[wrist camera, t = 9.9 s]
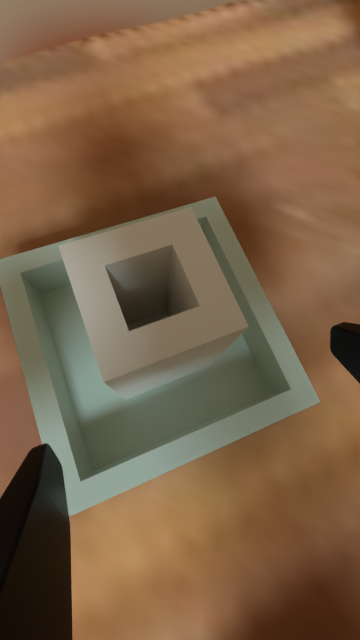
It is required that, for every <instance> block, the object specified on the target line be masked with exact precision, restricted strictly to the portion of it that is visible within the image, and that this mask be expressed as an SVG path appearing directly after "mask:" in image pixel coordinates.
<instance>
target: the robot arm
mask: <svg viewBox="0 0 360 640" xmlns="http://www.w3.org/2000/svg"><path fill="white" fill-rule="evenodd" d="M330 349H331V352H332V354H333V355H334V356H335V357H336V358H337V359H338V360H339V362H340V363H341V364H342V365H343V366H344V367H345V368H346V369H347V370H348V371H349V372H350V373H351V375H352V376H353V377H354V378H355V379H356V380H357V381H358V382H359V383H360V324H353V323H347V322H343V323H340V324H337V325H335V326H333V327H332V328H331V333H330ZM0 640H72V594H71V539H70V522H69V513H68V506H67V498H66V491H65V483H64V476H63V469H62V465H61V463H60V461H59V459H58V458H57V456H56V454H55V453H54V451H53V450H52V448H51V446H50V445H49V444H48V443H44V444H41V445H39V446H36V447H34V448H32V449H31V450H30V451H29V453H28V454H27V456H26V458H25V459H24V461H23V463H22V464H21V466H20V467H19V469H18V471H17V472H16V474H15V475H14V477H13V479H12V480H11V482H10V484H9V485H8V487H7V488H6V490H5V492H4V493H3V495H2V496H1V498H0Z"/></svg>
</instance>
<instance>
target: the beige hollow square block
mask: <svg viewBox="0 0 360 640" xmlns="http://www.w3.org/2000/svg"><path fill="white" fill-rule="evenodd" d="M59 249H60V252H61V256H62V259H63V262H64V265H65V268H66V271H67V274H68V277H69V280H70V283H71V286H72V289H73V292H74V295H75V298H76V301H77V304H78V307H79V310H80V313H81V316H82V319H83V322H84V325H85V328H86V331H87V334H88V337H89V340H90V343H91V346H92V349H93V352H94V355H95V358H96V361H97V364H98V367H99V370H100V373H101V376H102V379H103V382H104V383H105V384H106V385H108V386H109V387H110V388H111V389H113V390H114V391H115V392H116V393H118V394H119V395H120V396H122V397H123V398H124V399H125V400H127V399H129V398H132V397H134V396H137V395H139V394H142V393H144V392H147V391H149V390H152V389H154V388H157V387H159V386H162V385H164V384H167V383H169V382H172V381H174V380H177V379H179V378H182V377H184V376H187V375H189V374H192V373H194V372H197V371H199V370H202V369H204V368H207V367H209V366H210V365H211V364H212V363H213V362H214V361H215V360H216V359H217V358H218V357H219V356H220V355H221V354H222V353H223V352H224V351H225V350H226V349H227V348H228V347H229V346H230V345H231V344H232V343H233V342H234V341H235V340H236V339H237V338H238V337H239V336H240V335H241V334H242V333H243V332H244V331H245V330H246V329H247V328H248V327H249V326H248V324H247V322H246V320H245V318H244V316H243V314H242V312H241V310H240V307H239V305H238V303H237V301H236V299H235V297H234V295H233V293H232V291H231V289H230V287H229V285H228V282H227V280H226V278H225V276H224V274H223V272H222V270H221V268H220V266H219V264H218V262H217V260H216V257H215V255H214V253H213V251H212V249H211V247H210V245H209V243H208V241H207V239H206V237H205V235H204V233H203V230H202V228H201V226H200V224H199V222H198V220H197V218H196V216H195V214H194V212H193V210H192V208H191V207H189V208H186V209H182V210H179V211H175V212H172V213H169V214H165V215H162V216H158V217H155V218H152V219H148V220H145V221H141V222H138V223H134V224H131V225H128V226H124V227H121V228H117V229H114V230H111V231H107V232H104V233H100V234H97V235H93V236H90V237H87V238H83V239H80V240H76V241H73V242H70V243H66V244H63V245H59Z"/></svg>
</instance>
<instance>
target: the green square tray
mask: <svg viewBox="0 0 360 640" xmlns="http://www.w3.org/2000/svg"><path fill="white" fill-rule="evenodd" d="M189 207H191V208H192V210H193V212H194V214H195V216H196V218H197V220H198V222H199V224H200V226H201V228H202V230H203V233H204V235H205V237H206V239H207V241H208V243H209V245H210V247H211V249H212V251H213V253H214V255H215V257H216V260H217V262H218V264H219V266H220V268H221V270H222V272H223V274H224V276H225V278H226V280H227V282H228V285H229V287H230V289H231V291H232V293H233V295H234V297H235V299H236V301H237V303H238V305H239V307H240V310H241V312H242V314H243V316H244V318H245V320H246V322H247V324H248V326H249V327H248V328H247V329H246V330H245V331H244V332H243V333H242V334H241V335H240V336H239V337H238V338H237V339H236V340H235V341H234V342H233V343H232V344H231V345H230V346H229V347H228V348H227V349H226V350H225V351H224V352H223V353H222V354H221V355H220V356H219V357H218V358H217V359H216V360H215V361H214V362H213V363H212V364H211V365H210V366H209V367H207V368H204V369H202V370H199V371H197V372H194V373H192V374H189V375H187V376H184V377H182V378H179V379H177V380H174V381H172V382H169V383H167V384H164V385H162V386H159V387H157V388H154V389H152V390H149V391H147V392H144V393H142V394H139V395H137V396H134V397H132V398H129V399H127V400H125V399H124V398H123V397H122V396H120V395H119V394H118V393H116V392H115V391H114V390H113V389H111V388H110V387H109V386H108V385H106V384H105V383H104V382H103V379H102V376H101V373H100V370H99V367H98V364H97V361H96V358H95V355H94V352H93V349H92V346H91V343H90V340H89V337H88V334H87V331H86V328H85V325H84V322H83V319H82V316H81V313H80V310H79V307H78V304H77V301H76V298H75V295H74V292H73V289H72V286H71V283H70V280H69V277H68V274H67V271H66V268H65V265H64V262H63V259H62V256H61V252H60V249H59V245H63V244H66V243H70V242H73V241H76V240H80V239H83V238H87V237H90V236H93V235H97V234H100V233H104V232H107V231H111V230H114V229H117V228H121V227H124V226H128V225H131V224H134V223H138V222H141V221H145V220H148V219H152V218H155V217H158V216H162V215H165V214H169V213H172V212H175V211H179V210H182V209H186V208H189ZM0 287H1V291H2V294H3V298H4V302H5V306H6V309H7V313H8V317H9V321H10V324H11V328H12V332H13V336H14V340H15V343H16V347H17V351H18V355H19V358H20V362H21V366H22V370H23V373H24V377H25V381H26V385H27V389H28V392H29V396H30V400H31V404H32V407H33V411H34V415H35V419H36V422H37V426H38V430H39V434H40V438H41V441H42V444H44V443H48V444H49V445H50V446H51V448H52V450H53V451H54V453H55V454H56V456H57V458H58V459H59V461H60V463H61V465H62V469H63V476H64V483H65V491H66V498H67V506H68V513H69V517H70V516H72V515H74V514H76V513H78V512H81V511H83V510H85V509H87V508H89V507H92V506H94V505H96V504H98V503H100V502H103V501H105V500H107V499H109V498H111V497H114V496H116V495H118V494H120V493H122V492H124V491H127V490H129V489H131V488H133V487H135V486H138V485H140V484H142V483H144V482H146V481H149V480H151V479H153V478H155V477H157V476H160V475H162V474H164V473H166V472H168V471H170V470H173V469H175V468H177V467H179V466H181V465H184V464H186V463H188V462H190V461H192V460H195V459H197V458H199V457H201V456H203V455H206V454H208V453H210V452H212V451H214V450H217V449H219V448H221V447H223V446H225V445H227V444H230V443H232V442H234V441H236V440H238V439H241V438H243V437H245V436H247V435H249V434H252V433H254V432H256V431H258V430H260V429H263V428H265V427H267V426H269V425H271V424H273V423H276V422H278V421H280V420H282V419H284V418H287V417H289V416H291V415H293V414H295V413H298V412H300V411H302V410H304V409H306V408H309V407H311V406H313V405H315V404H317V403H319V402H320V400H319V398H318V396H317V394H316V392H315V390H314V388H313V386H312V384H311V382H310V380H309V378H308V376H307V374H306V372H305V371H304V369H303V367H302V365H301V363H300V361H299V359H298V357H297V355H296V353H295V351H294V349H293V347H292V345H291V343H290V341H289V339H288V337H287V335H286V333H285V331H284V329H283V327H282V326H281V324H280V322H279V320H278V318H277V316H276V314H275V312H274V310H273V308H272V306H271V304H270V302H269V300H268V298H267V296H266V294H265V292H264V290H263V288H262V286H261V284H260V283H259V281H258V279H257V277H256V275H255V273H254V271H253V269H252V267H251V265H250V263H249V261H248V259H247V257H246V255H245V253H244V251H243V249H242V247H241V245H240V243H239V241H238V239H237V238H236V236H235V234H234V232H233V230H232V228H231V226H230V224H229V222H228V220H227V218H226V216H225V214H224V212H223V210H222V208H221V206H220V204H219V202H218V200H217V198H216V196H215V197H212V198H208V199H205V200H202V201H198V202H195V203H191V204H188V205H184V206H181V207H178V208H174V209H171V210H167V211H164V212H160V213H157V214H153V215H150V216H147V217H143V218H140V219H136V220H133V221H129V222H126V223H123V224H119V225H116V226H112V227H109V228H105V229H102V230H98V231H95V232H92V233H88V234H85V235H81V236H78V237H74V238H71V239H68V240H64V241H61V242H57V243H54V244H50V245H47V246H43V247H40V248H37V249H33V250H30V251H26V252H23V253H19V254H16V255H13V256H9V257H6V258H2V259H0Z"/></svg>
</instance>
